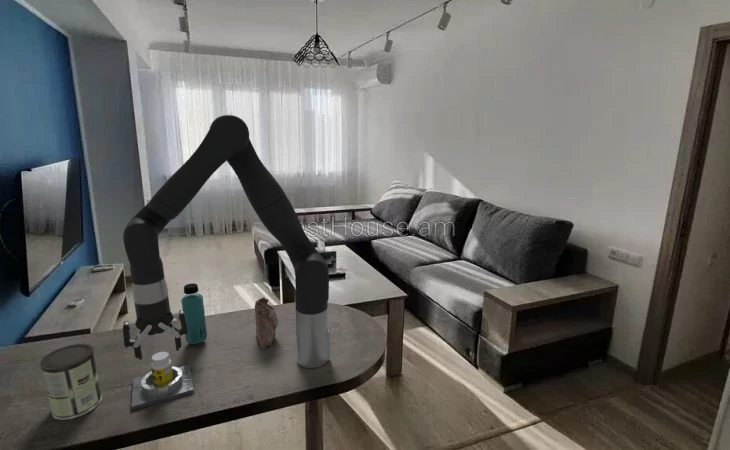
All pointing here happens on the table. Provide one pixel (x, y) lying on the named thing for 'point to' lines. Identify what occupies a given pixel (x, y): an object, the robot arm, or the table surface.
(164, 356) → the supplement bottle
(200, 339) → the beverage bottle
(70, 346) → the coffee can
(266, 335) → the stone
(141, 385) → the ring base
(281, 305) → the table surface
